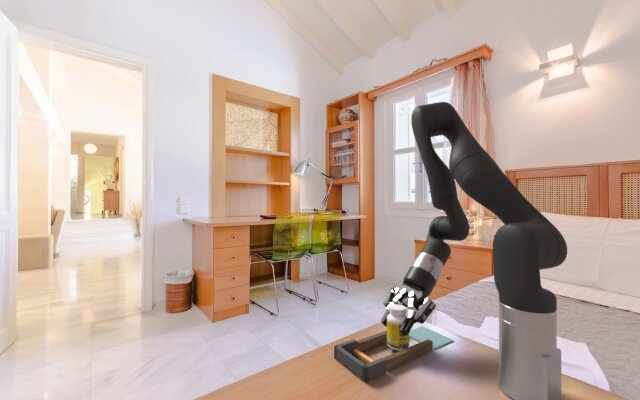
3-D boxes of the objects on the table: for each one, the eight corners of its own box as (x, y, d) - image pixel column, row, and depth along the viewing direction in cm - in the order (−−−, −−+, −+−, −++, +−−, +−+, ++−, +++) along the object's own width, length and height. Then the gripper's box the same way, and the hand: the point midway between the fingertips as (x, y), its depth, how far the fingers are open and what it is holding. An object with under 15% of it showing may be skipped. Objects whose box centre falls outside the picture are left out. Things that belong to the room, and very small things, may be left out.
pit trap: (385, 373, 64) (385, 359, 64) (364, 382, 60) (364, 368, 60) (353, 351, 73) (353, 339, 73) (334, 358, 70) (334, 345, 70)
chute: (432, 351, 73) (432, 341, 73) (386, 371, 64) (386, 360, 64) (400, 334, 82) (400, 325, 82) (356, 351, 73) (356, 341, 73)
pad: (453, 341, 78) (453, 339, 78) (434, 349, 74) (434, 348, 74) (422, 327, 86) (422, 326, 86) (403, 334, 82) (403, 333, 82)
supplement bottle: (401, 354, 70) (400, 312, 70) (382, 345, 74) (382, 306, 74) (413, 346, 73) (413, 307, 73) (395, 338, 77) (394, 301, 77)
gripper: (396, 260, 83) (365, 311, 77) (441, 270, 71) (408, 332, 65) (409, 276, 86) (380, 326, 80) (454, 288, 74) (424, 349, 68)
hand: (392, 328), depth 72 cm, fingers closed on supplement bottle, 5 cm apart
